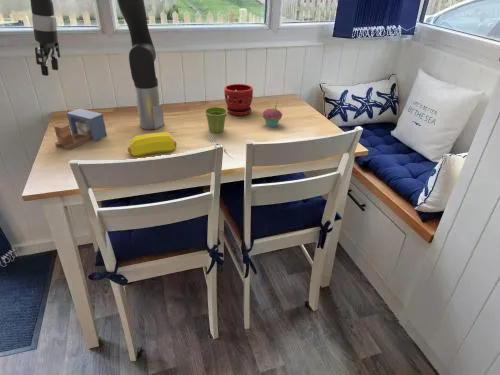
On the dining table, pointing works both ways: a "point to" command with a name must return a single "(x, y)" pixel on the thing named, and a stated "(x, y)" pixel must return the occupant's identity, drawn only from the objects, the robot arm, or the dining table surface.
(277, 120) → the cupcake
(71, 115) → the tunnel
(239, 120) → the dining table surface
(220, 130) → the plant pot
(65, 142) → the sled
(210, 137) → the fork
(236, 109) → the plant pot
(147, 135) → the hot dog
